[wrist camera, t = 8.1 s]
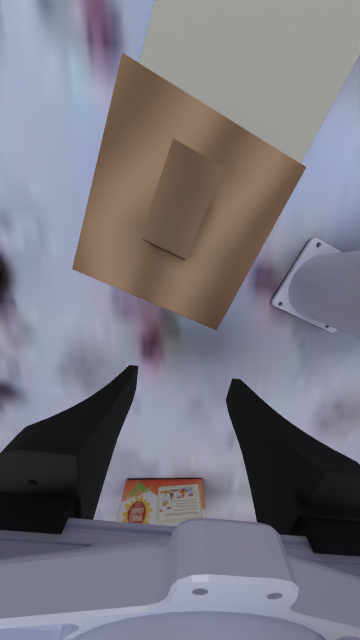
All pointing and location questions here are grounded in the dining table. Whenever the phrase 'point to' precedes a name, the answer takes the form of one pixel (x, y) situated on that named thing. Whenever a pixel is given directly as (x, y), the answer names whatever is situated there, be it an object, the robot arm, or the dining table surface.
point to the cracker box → (162, 501)
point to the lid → (179, 198)
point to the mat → (258, 60)
